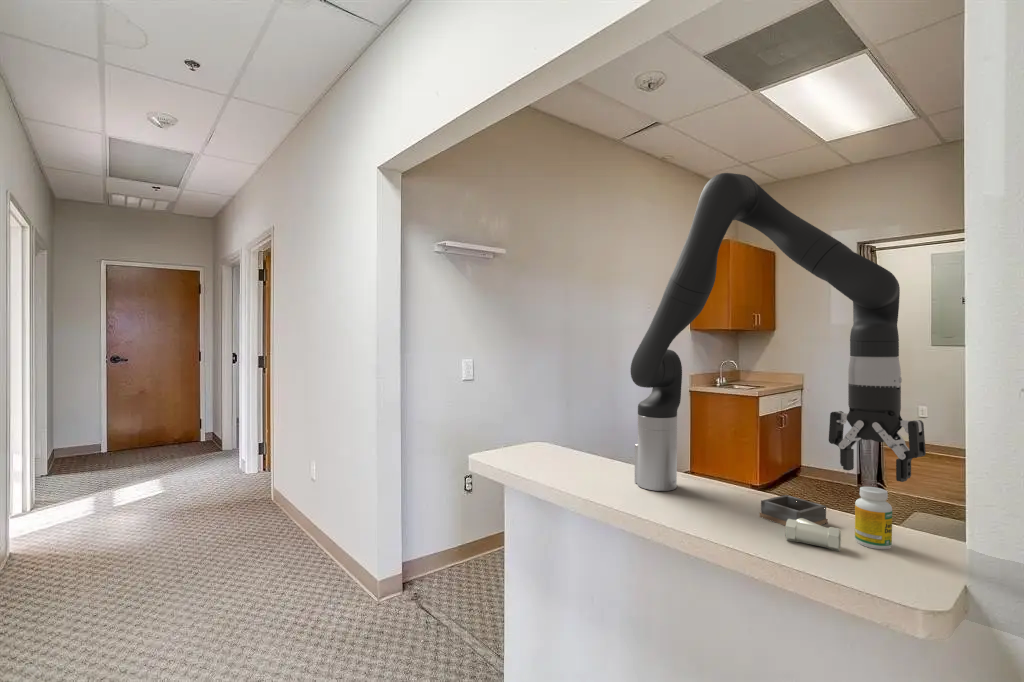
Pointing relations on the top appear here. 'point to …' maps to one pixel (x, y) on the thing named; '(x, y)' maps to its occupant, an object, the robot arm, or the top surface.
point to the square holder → (792, 510)
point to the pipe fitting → (813, 534)
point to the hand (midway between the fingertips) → (874, 475)
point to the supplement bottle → (873, 518)
